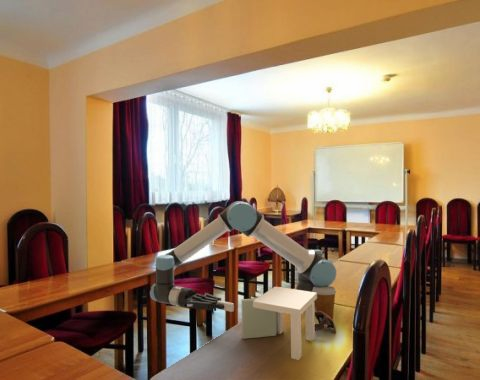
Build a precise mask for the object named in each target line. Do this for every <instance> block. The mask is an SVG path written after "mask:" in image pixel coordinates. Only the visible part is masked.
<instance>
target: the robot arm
mask: <svg viewBox="0 0 480 380" xmlns="http://www.w3.org/2000/svg"><path fill="white" fill-rule="evenodd" d="M217 215H218V216H217V218H216V219H214V220H213V221H211V222H210V223H209V224H207V225H206V226H204V227H203V228H201V229H200V230H198V231H197V232H196V233H195V234H193V235H191V236H190V237H189V238H187V239H186V240H185V241H183V242H182V243H181V244H179V245H178V246H176V247H175V248H174V249H172V250H171V251H170V252H168V253H165V254H163V255H158V256H156V258H155V264H154V265H155V283H153V284H152V285H151V287H150V291H149V296H150V299H152V300H153V301H155V302H158V303H160V304H161V303H162V304H168V305H171V306H176V307H177V308H178V307H180V308H184V309H189V310H190V309H196V310H202V311H203V310H205V311H214V312H217V310H223V311H225V312H231V313H232V312H234V311H235V303H233V302H230V301H224V300H222V298H221V297H219V296H216V295H213V294H210V293H208V292H205V293H204V294H201V293H196V292H195V290H194V289H193V288H188V287H183V286H179V285H175V270H176V268H178V267H179V266H180V265H182V264H183V263H184V262H185V261H187V260H189V259H190V258H192V257H194V255H195V254H197V253H198V252H200V251H201V250H203V249H204V248H206V247H207V246H208V245H210V244H211V243H212V242H214V241H216V240H217V239H218V238H220V237H222V235H224V234H225V233H226V232H232V231H233V230H237V231H238V232H240V233H242V234H243V236H246V237H247V238H249V237H250V238H251V237H254V238H255V239H257V241H259V242H260V243H262V244H263V245H264V246H266V247H267V248H270V249H271V250H272V251H273V252H275V253H276V254H278V255H279V256H280V257H282V258H283V259H285V260H286V261H288V262H289V263H290V264H292V265H293V266H295V267H296V268H297V283H296V288H295V289H296V290H303V291H309V292H313V291H312V290H313V287H315V286H318V287H325V286H331V285H332V284H333V283H334V282H335V280H336V277H337V268H336V266H335V265H334V263H333V262H332V261H330V260H328V259H326V258H325V257H324V255H323V251H322V250H321V249H306V248H305V247H303V246H302V245H301V244H299V243H298V242H297V241H295V240H294V239H292V238H291V237H289V236H288V235H287V234H285V233H284V232H282V231H281V230H279V229H278V228H276V227H275V226H273V225H272V224H271V223H270V222H269V221H267V220H265V216H264V214H263V213H261V212H260V211H259V210H257V209H256V208H255V207H254V206H253V205H251V203H248V202H246V201H243V200H242V201H241V200H236V201H233V202H232V203H230V204H229V205H228V206H227V207H226V208H225V209H224V210H223V211H222V212H220V213H219V214H217ZM314 304H315V301H314Z"/></svg>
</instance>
